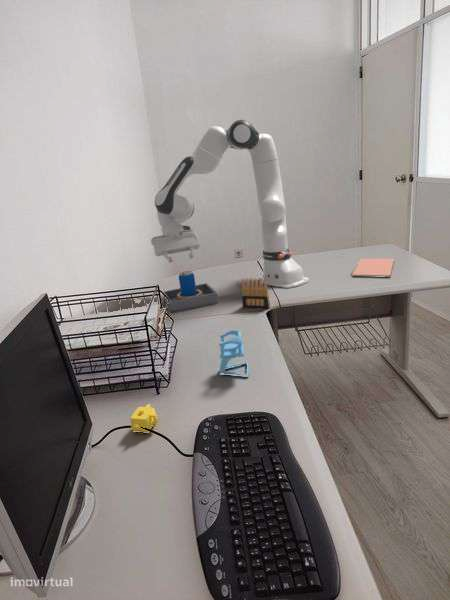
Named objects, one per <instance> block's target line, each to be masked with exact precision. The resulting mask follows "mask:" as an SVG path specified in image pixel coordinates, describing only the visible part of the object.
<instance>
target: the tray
mask: <svg viewBox="0 0 450 600" xmlns="http://www.w3.org/2000/svg"><path fill="white" fill-rule="evenodd" d="M195 285H196V292H197V295H195V296H190V297H182V295H181V289H180V288H175V289H169V290H164V291H162V294H163V293H164V294H165V295H166V296H167V297H168V299H169V304H168V307H167V308H168V310H169V311H170V313H171V314H174V313H179V312H182V311H187V310H192V309H198V308H202V307H207V306H210V305H211V306H212V305H215V304H219V295H218V292H217V291H216V290H215V289H214V288H213V287H212V286H211V285H210V284H208V283H207V282H205V283H200V284H195ZM163 300H164V303H165V305H166V304H167V299H166V298H165V297H164V296H163Z"/></svg>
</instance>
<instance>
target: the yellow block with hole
mask: <svg viewBox="0 0 450 600" xmlns="http://www.w3.org/2000/svg"><path fill="white" fill-rule="evenodd" d="M129 419H130V427H131V431H132V430H133V431H140V432H148V431H147V430H145V429H143V428H147V429H151V428H152V427H153V426H154V424H155V425H156V424H158V422H159V418H158V415H157V413H156V411H155V408H154V407H152V404H146V406H138V407H137V408H136V409H135V411H134V412H133V414H132V415H131V417H130V418H129ZM141 427H143V428H141ZM154 427H155V426H154ZM154 427H153V428H154ZM133 431H132V432H133Z"/></svg>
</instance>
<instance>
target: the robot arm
mask: <svg viewBox="0 0 450 600" xmlns="http://www.w3.org/2000/svg"><path fill="white" fill-rule="evenodd" d="M229 148H230V149H235V150H238V151H240V150H241V151H242V150H247V151H248V152H249V154H250V156H251V164H252V169H253V175H254V179H255V181H254V182H255V188H256V194H257V195H256V196H257V201H258V202H257V203H258V208H259V213H260V217H261V232H262V233H261V236H262V247H263V250H262V258H263V264H262V279H261V280H262V285H264V279H266V283H267V286H273V287H278V288H279V287H280V288H283V289H284V288H285V289H290V288H295V287H299V286H301V285H305V284H306V283H308V282H309V281H310V279H309V278H308V277H306V276H304V271H303V268H302V267H301V265H299V264H298V263H297V262H296V261H295V260H294V259H293V258H292V254H293V251H290V250H289V248H288V233H287V231H288V227H287V218H286V217H287V215H286V213H287V212H286V202H285V197H284V196H285V195H284V190H283V189H284V188H283V182H282V176H281V168H280V163H279V158H278V152H277V148H276V145H275V141H274V139H273V137H272V135H270V134H267V133H259V132H258V131H257V130H256V128H255V127H254V125H253V124H252V123H251V122H250V121H248V120H246V119H237V120H236V121H234V122H233V123H232V124H230V126H229V127H228V128H223V127H221V126H219V125H218V126H217V125H212V126H210V127H209V128H208V130H207V131H206V132H205V134H204V135H203V136H202V137H201V140H200V141H199V143H198V145H197V146H196V148H195V150H194V151H193V153H191V155H189V156H186V157H185V158H184V159H182V160H181V162H180V163H179V164H178V166H177V167H176V168H175V170H174V172H173V173H172V174H171V176H170V178H169V179H168V180H167V182H166V183H165V184H164V186H163V187H162V188H161V189H160V190H159V191H158V193H156V195H155V197H154V207H156V208H155V209H156V210H157V211H156V214H157V218H158V223H159V225H160V226H161V232H162V235H158V236H153V237H152V238H151V239H150V242H151V245H152V246H153V251H154V255H155V256H156V257H162V256H164V258H165V259H167V261H168V263H173V258H172V256H169V255H172V254H178V253H183V252H189V253H188V256H189V259H194V251H195V250H199V249H200V247H201V241H200V238H199V237H198V234H197V233H196V232H195V231H194V227H193V226H191V225H186V224H185V225H183V223H184V222H186V221H188V220H189V219H190V218H192V216H193V214H194V213H195V211H194V210H195V206H194V205H195V204H194V202H193V201H192V200H191V199H189V198H187V197H185V196H182V195H180V194H178V193H177V192H179V190H180V188H181V187H182V185H183V184H184V182H186V180H187V179H188V177H190V176H193V175H208V174H210V173H212V172H214V171H215V169H216V168H217V167H218V166H219V164H220V162H221V159H222V158H223V156H224V155H225V152H226V151H227V150H228V149H229Z"/></svg>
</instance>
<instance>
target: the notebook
mask: <svg viewBox="0 0 450 600" xmlns="http://www.w3.org/2000/svg"><path fill="white" fill-rule="evenodd" d="M394 261H395V258H360V259H357V261H356V263H355V265H354V267H353V269H352V270H351V272H350V274H351V273H352V275H351V276H390V277H391V274H392V271H393V270H392V269H393V266H394ZM353 270H354V271H353Z"/></svg>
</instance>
